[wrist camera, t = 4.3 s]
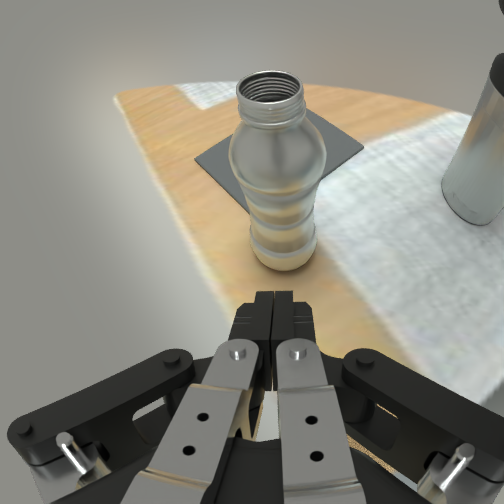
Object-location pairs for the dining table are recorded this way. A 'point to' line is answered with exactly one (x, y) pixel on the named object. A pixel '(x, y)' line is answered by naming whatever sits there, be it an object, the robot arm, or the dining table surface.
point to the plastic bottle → (277, 167)
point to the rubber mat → (337, 153)
